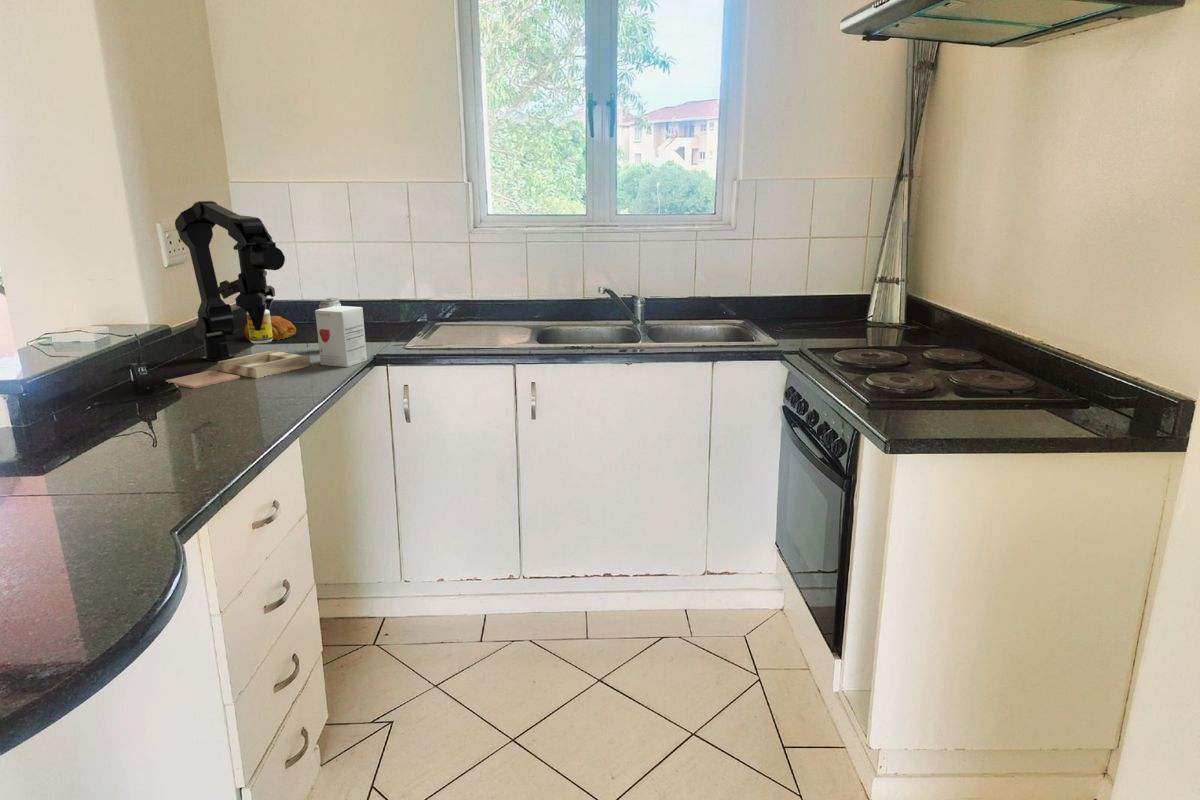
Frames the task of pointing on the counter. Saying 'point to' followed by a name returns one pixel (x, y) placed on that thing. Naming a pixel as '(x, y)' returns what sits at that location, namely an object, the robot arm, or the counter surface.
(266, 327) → the supplement bottle
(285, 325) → the croissant
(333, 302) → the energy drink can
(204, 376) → the terracotta tile
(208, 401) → the counter surface
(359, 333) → the supplement box
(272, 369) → the board
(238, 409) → the counter surface
